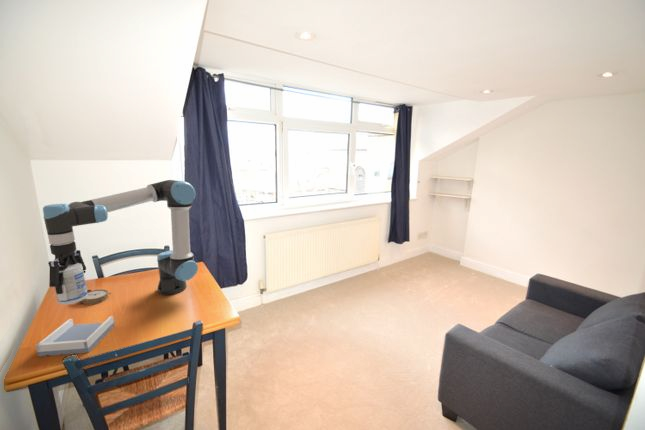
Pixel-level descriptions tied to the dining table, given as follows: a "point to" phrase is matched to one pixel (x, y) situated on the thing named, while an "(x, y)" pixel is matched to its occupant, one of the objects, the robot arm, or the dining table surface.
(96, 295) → the alarm clock
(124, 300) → the dining table surface
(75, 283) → the supplement tub
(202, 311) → the dining table surface
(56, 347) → the dock
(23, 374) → the dining table surface
